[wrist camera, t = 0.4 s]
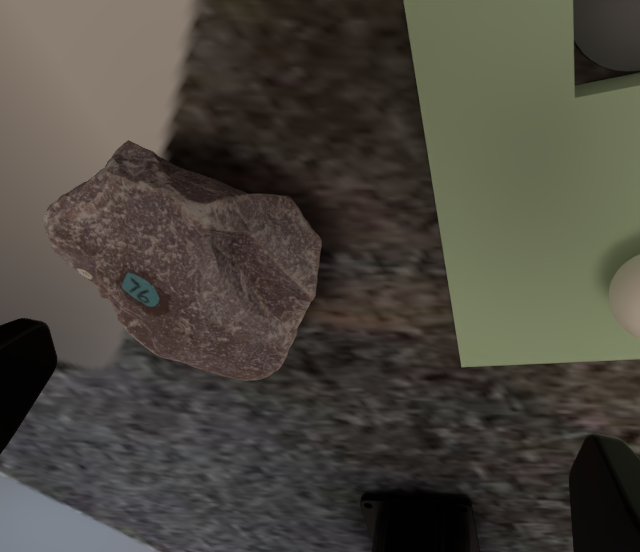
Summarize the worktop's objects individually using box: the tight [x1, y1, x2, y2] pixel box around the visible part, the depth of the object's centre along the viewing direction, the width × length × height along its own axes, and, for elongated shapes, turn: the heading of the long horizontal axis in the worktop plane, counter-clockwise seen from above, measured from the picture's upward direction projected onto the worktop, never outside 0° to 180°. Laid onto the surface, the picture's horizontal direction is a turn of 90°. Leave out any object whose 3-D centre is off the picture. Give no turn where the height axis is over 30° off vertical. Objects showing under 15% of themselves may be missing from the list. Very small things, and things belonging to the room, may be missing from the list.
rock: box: [43, 141, 322, 381], centre depth 21 cm, size 8×11×5 cm
